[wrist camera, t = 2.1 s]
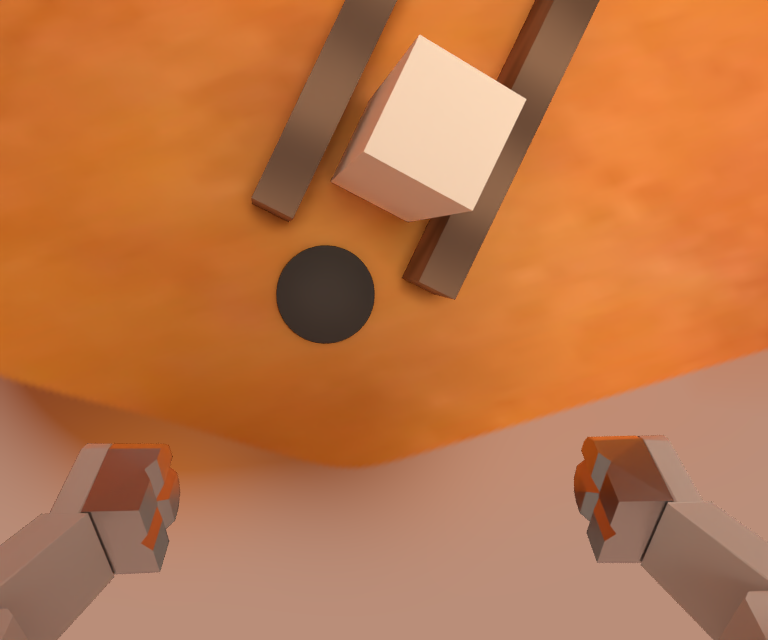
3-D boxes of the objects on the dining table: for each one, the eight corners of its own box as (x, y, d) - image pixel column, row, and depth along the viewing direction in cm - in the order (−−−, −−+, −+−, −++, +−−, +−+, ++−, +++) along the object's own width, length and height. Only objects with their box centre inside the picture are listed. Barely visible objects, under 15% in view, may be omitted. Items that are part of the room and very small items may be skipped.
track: (434, 294, 33) (455, 299, 30) (252, 203, 31) (251, 197, 27) (582, -13, 33) (620, -43, 29) (410, -129, 30) (429, -176, 27)
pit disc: (280, 346, 32) (280, 347, 32) (272, 248, 31) (272, 248, 31) (376, 337, 33) (377, 338, 32) (370, 242, 32) (371, 242, 32)
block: (407, 222, 32) (472, 210, 23) (330, 181, 31) (363, 151, 22) (445, 143, 32) (526, 99, 23) (368, 100, 31) (419, 34, 22)
